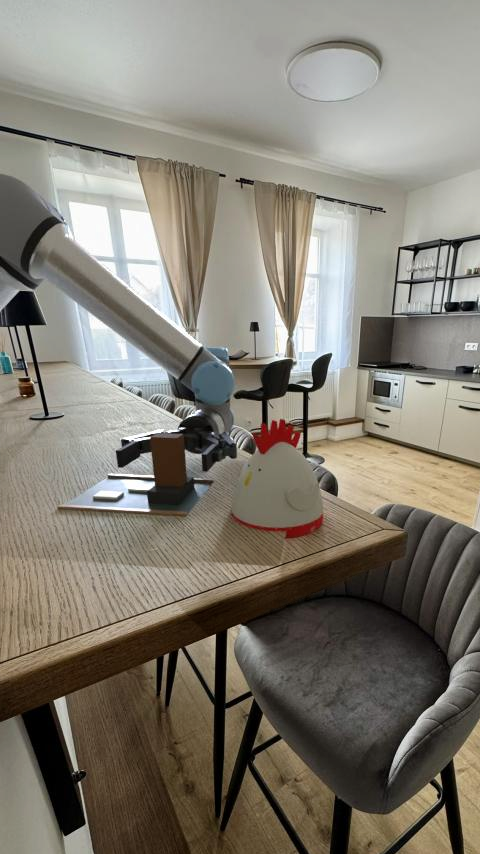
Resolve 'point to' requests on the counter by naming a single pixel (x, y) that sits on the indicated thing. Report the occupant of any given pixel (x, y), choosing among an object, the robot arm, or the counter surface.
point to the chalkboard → (134, 497)
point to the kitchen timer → (278, 486)
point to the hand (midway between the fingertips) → (161, 461)
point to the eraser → (169, 470)
